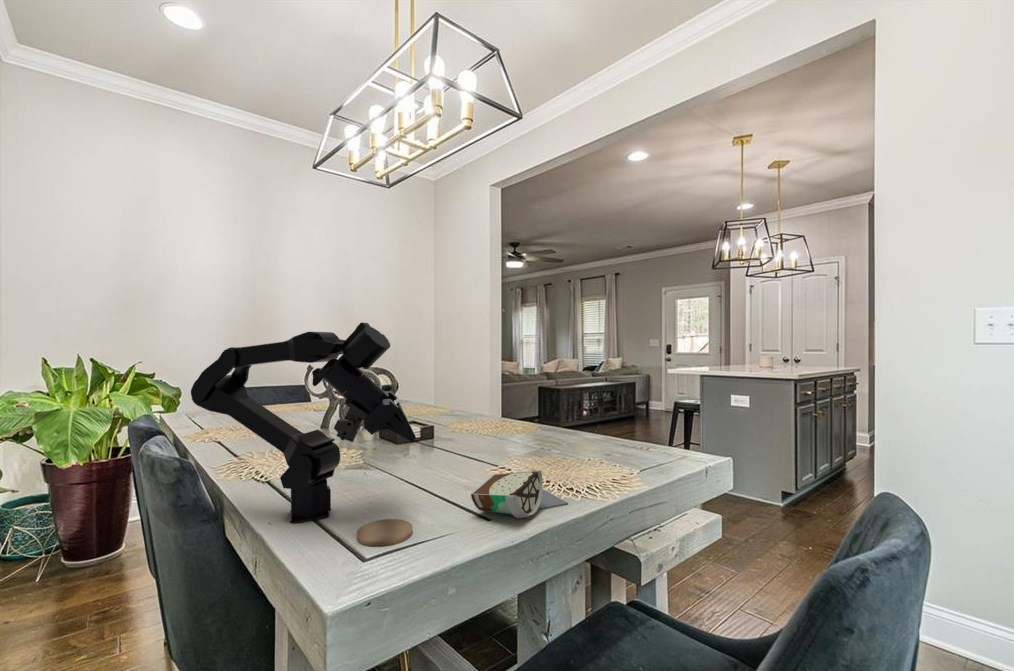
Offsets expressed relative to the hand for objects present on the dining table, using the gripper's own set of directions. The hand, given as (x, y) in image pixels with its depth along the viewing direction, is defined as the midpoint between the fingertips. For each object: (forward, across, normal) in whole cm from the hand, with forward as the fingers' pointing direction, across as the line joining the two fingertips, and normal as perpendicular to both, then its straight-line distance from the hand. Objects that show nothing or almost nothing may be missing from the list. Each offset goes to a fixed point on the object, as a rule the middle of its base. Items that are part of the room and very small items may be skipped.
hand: (414, 439), depth 90 cm
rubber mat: (+25, 0, +6) cm, 25 cm away
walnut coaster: (+6, +10, -13) cm, 18 cm away
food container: (+18, +3, +1) cm, 18 cm away
